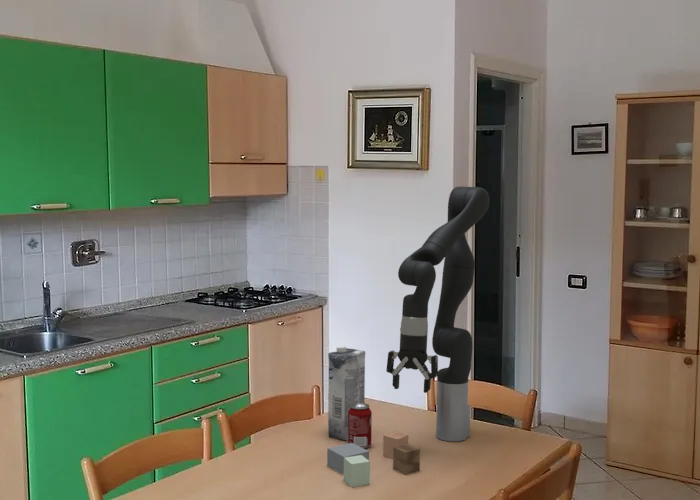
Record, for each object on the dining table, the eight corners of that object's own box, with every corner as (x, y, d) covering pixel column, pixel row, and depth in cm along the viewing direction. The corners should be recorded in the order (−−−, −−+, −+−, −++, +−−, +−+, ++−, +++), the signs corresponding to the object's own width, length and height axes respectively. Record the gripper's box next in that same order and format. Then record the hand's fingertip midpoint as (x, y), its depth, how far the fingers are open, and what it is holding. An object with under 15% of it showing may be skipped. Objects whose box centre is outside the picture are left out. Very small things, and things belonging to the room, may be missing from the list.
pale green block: (361, 477, 203) (361, 455, 203) (369, 484, 199) (369, 461, 198) (343, 480, 201) (343, 457, 201) (351, 487, 196) (351, 464, 196)
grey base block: (351, 460, 216) (351, 442, 215) (368, 469, 209) (369, 451, 209) (327, 466, 211) (327, 448, 211) (344, 475, 205) (344, 457, 204)
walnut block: (408, 465, 212) (408, 443, 212) (419, 471, 208) (419, 449, 207) (393, 469, 209) (393, 447, 209) (404, 474, 205) (405, 452, 205)
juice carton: (367, 433, 238) (368, 345, 236) (349, 443, 229) (350, 352, 227) (343, 428, 243) (344, 342, 241) (324, 437, 234) (324, 348, 232)
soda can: (368, 451, 223) (369, 409, 222) (345, 449, 224) (346, 408, 223) (373, 443, 229) (373, 403, 228) (350, 441, 231) (350, 401, 230)
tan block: (394, 451, 223) (394, 431, 222) (408, 456, 219) (408, 435, 219) (383, 456, 219) (383, 435, 218) (397, 460, 216) (397, 439, 215)
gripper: (442, 333, 219) (439, 391, 219) (394, 328, 224) (391, 385, 225) (435, 336, 212) (431, 396, 212) (385, 331, 217) (382, 389, 218)
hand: (411, 390), depth 219 cm, fingers open, 8 cm apart
